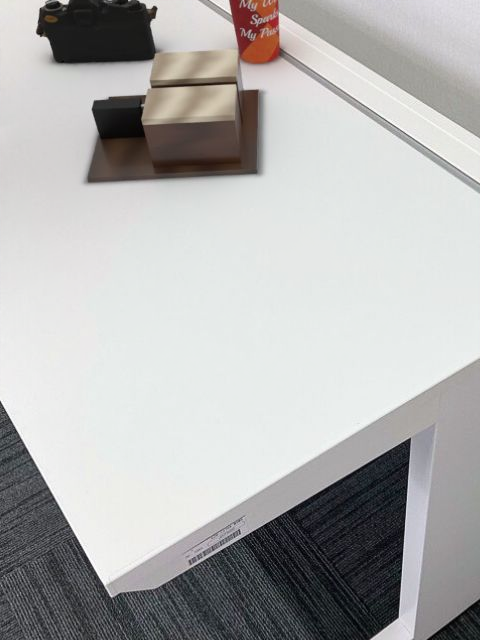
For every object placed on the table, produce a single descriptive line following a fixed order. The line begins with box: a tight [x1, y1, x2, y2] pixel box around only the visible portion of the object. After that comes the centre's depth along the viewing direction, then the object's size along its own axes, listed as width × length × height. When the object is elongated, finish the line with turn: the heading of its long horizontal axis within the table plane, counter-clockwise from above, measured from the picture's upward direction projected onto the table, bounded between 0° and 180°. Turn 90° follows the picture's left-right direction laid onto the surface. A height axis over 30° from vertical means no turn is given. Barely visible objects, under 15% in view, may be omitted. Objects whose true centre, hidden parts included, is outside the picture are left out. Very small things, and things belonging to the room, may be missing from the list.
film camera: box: [35, 0, 159, 64], centre depth 114 cm, size 18×12×10 cm
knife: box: [91, 98, 146, 139], centre depth 99 cm, size 18×2×4 cm, turn 94°
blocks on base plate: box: [86, 48, 260, 183], centre depth 99 cm, size 21×19×8 cm
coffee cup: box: [228, 0, 281, 64], centre depth 110 cm, size 8×8×15 cm
